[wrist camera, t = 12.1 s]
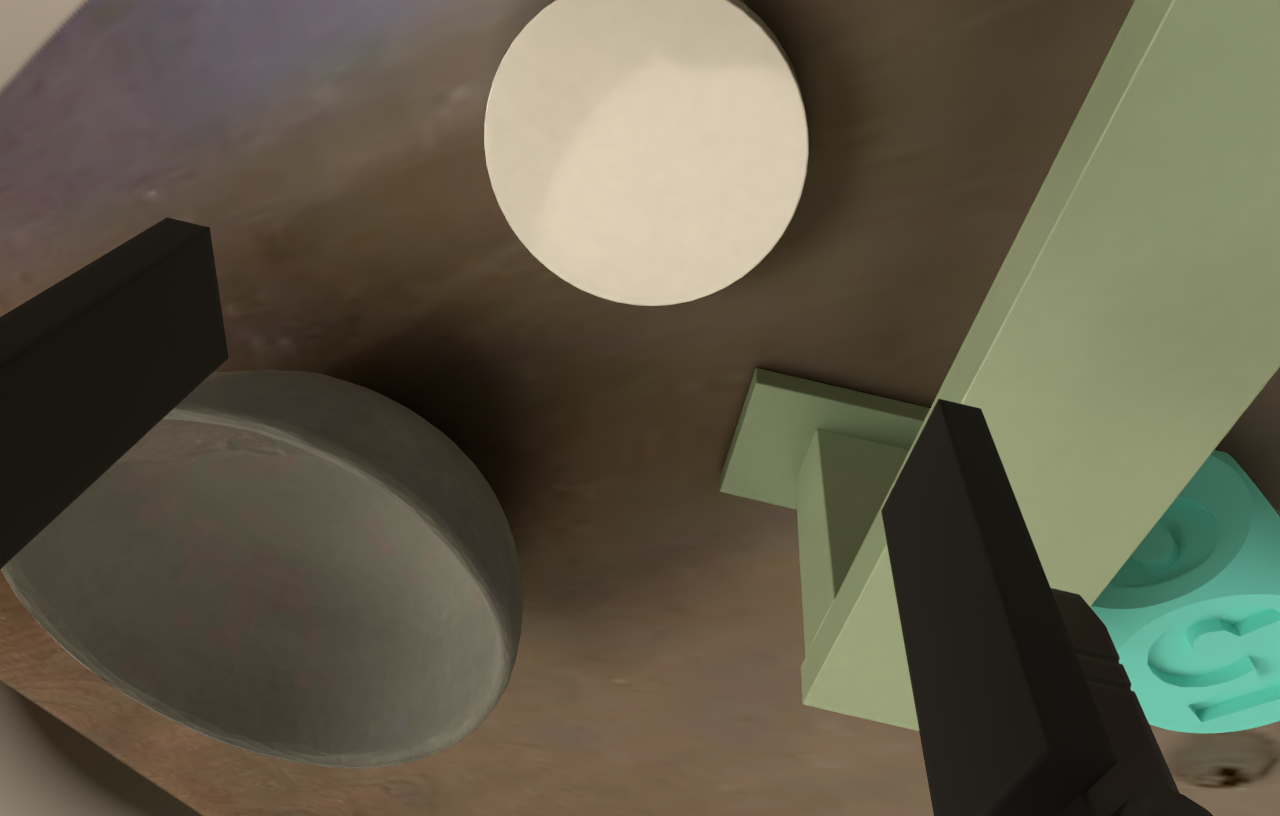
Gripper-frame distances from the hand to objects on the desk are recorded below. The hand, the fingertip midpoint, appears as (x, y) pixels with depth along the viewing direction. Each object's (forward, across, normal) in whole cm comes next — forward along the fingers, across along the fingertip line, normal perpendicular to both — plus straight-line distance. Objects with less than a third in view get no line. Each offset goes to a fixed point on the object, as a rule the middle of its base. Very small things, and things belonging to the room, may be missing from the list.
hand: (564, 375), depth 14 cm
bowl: (+16, -11, -20) cm, 28 cm away
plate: (+16, 0, -1) cm, 16 cm away
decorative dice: (+16, +24, -12) cm, 31 cm away
